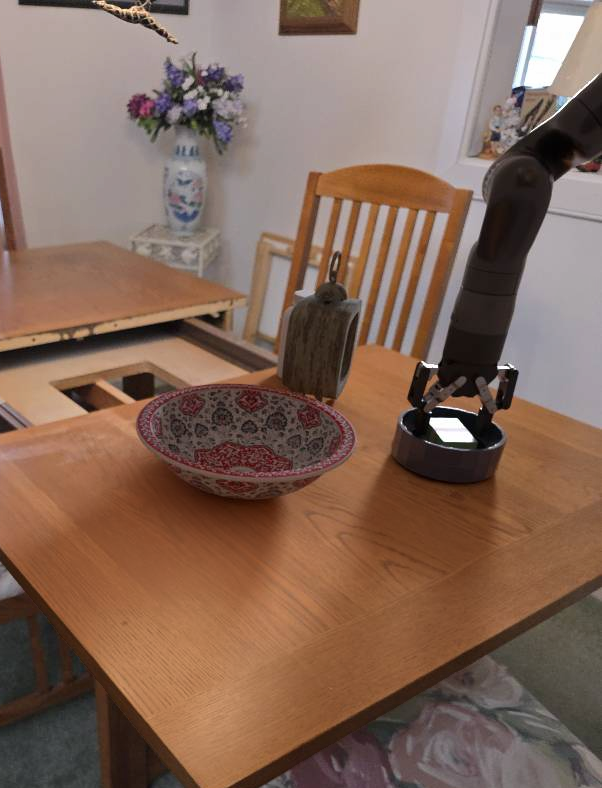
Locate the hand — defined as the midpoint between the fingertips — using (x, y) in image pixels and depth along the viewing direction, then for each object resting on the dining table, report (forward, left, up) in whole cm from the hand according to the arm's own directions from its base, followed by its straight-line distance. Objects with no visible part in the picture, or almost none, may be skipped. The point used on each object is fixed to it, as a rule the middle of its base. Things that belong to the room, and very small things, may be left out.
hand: (449, 434), depth 103 cm
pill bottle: (+16, -33, -5) cm, 37 cm away
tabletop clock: (+16, -19, -5) cm, 25 cm away
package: (0, 0, -4) cm, 4 cm away
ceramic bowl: (+31, +6, -5) cm, 32 cm away
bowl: (0, 0, -4) cm, 4 cm away
